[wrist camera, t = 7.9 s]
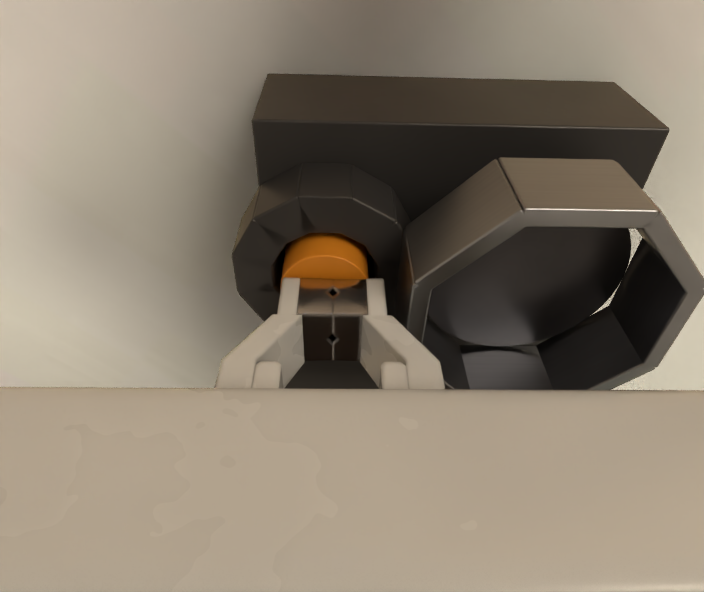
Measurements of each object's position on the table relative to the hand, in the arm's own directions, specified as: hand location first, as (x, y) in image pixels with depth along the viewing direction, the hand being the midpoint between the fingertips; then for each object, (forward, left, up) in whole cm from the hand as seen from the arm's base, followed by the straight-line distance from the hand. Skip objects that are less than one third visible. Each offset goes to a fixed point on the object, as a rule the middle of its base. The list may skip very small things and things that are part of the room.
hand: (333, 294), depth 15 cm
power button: (0, 0, -2) cm, 2 cm away
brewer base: (+4, -1, -7) cm, 8 cm away
